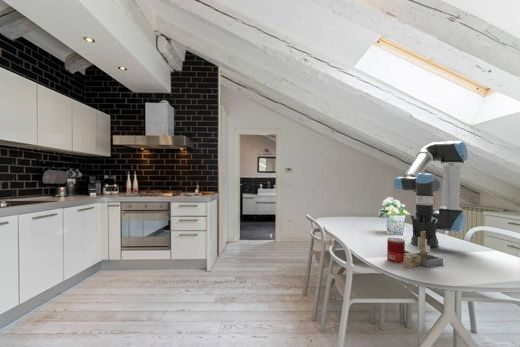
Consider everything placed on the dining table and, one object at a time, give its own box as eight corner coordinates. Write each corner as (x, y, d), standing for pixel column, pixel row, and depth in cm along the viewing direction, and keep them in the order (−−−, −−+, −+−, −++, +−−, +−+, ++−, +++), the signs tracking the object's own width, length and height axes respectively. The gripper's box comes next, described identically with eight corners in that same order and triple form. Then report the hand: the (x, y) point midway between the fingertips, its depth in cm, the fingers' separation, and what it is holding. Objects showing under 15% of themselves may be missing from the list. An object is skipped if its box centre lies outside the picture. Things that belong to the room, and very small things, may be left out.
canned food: (406, 263, 140) (406, 241, 140) (389, 262, 142) (389, 240, 142) (402, 259, 148) (402, 238, 148) (385, 258, 149) (385, 237, 149)
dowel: (422, 260, 144) (423, 230, 144) (428, 261, 141) (429, 231, 141) (418, 260, 143) (418, 231, 143) (424, 262, 140) (424, 232, 140)
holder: (402, 253, 157) (402, 249, 157) (415, 257, 150) (415, 253, 150) (391, 255, 154) (391, 250, 154) (404, 259, 147) (404, 254, 147)
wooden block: (414, 264, 139) (415, 254, 139) (420, 266, 136) (420, 255, 136) (403, 266, 136) (403, 255, 136) (408, 268, 133) (409, 257, 133)
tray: (420, 257, 150) (420, 252, 150) (443, 264, 139) (443, 258, 139) (404, 260, 145) (404, 254, 145) (426, 267, 134) (426, 261, 134)
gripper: (405, 202, 148) (404, 247, 148) (434, 206, 133) (434, 255, 133) (415, 202, 151) (414, 246, 151) (445, 205, 136) (444, 254, 136)
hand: (423, 250), depth 142 cm, fingers closed on dowel, 3 cm apart
